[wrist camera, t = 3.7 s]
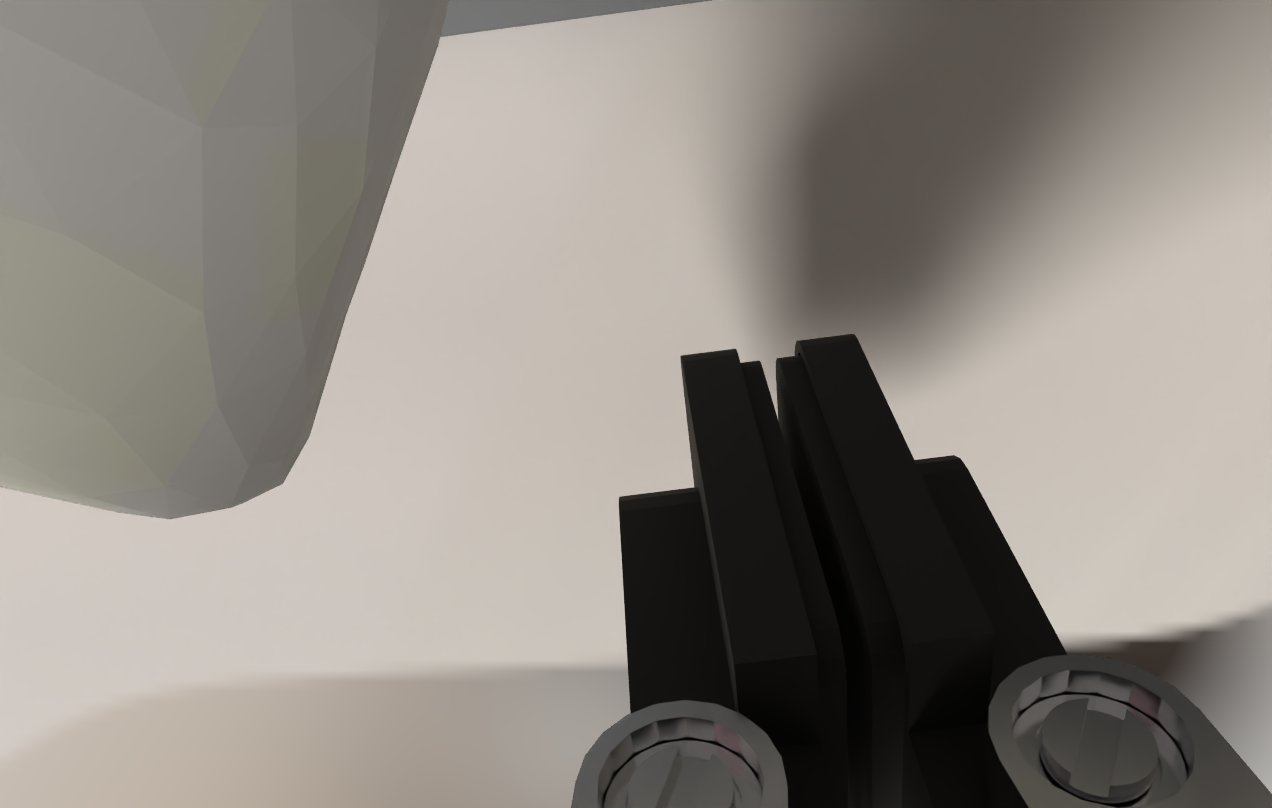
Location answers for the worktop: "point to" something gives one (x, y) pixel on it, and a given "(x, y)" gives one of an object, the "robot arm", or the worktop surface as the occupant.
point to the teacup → (187, 233)
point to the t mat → (534, 12)
